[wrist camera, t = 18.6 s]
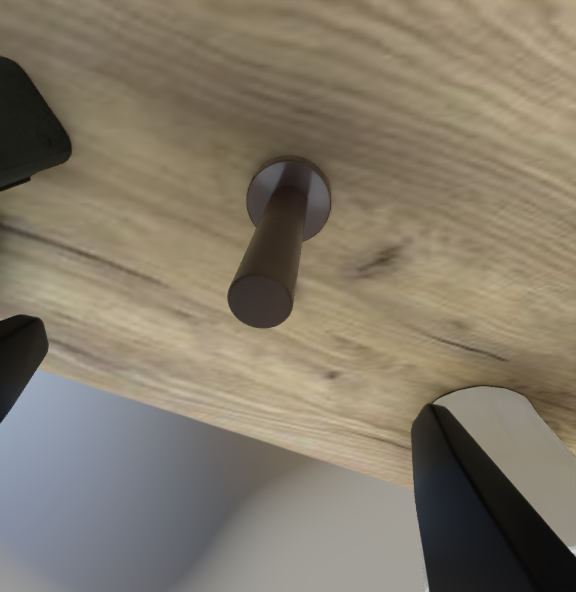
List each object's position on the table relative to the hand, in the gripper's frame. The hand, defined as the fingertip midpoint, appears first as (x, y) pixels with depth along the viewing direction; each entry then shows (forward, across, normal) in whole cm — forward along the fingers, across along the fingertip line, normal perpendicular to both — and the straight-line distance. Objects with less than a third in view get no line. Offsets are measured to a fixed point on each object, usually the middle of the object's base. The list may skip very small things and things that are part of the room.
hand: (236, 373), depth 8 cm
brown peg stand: (+13, 0, 0) cm, 13 cm away
